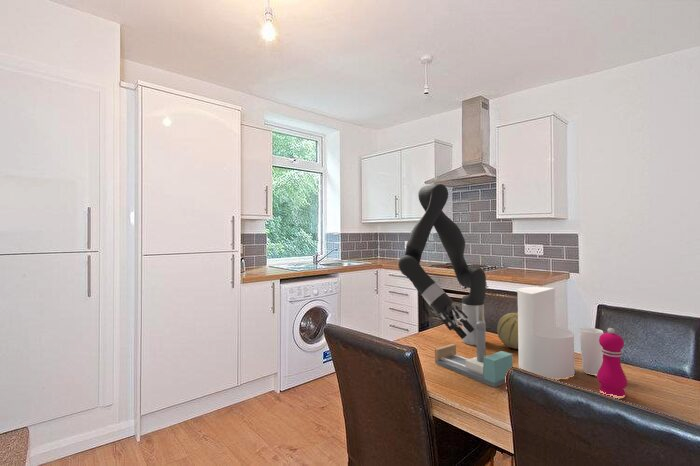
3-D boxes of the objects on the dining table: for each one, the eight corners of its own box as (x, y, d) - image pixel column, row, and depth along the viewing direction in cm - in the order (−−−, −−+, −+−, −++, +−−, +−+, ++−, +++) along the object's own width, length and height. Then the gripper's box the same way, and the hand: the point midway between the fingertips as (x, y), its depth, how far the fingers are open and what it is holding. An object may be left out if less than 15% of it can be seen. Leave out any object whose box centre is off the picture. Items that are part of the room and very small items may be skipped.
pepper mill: (591, 389, 107) (590, 325, 107) (613, 388, 108) (612, 324, 108) (610, 401, 100) (609, 332, 100) (634, 399, 101) (633, 330, 100)
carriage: (479, 361, 125) (479, 317, 125) (497, 367, 119) (496, 321, 119) (465, 366, 120) (464, 321, 120) (482, 373, 115) (482, 325, 114)
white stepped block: (509, 368, 125) (508, 290, 125) (532, 357, 135) (531, 285, 135) (562, 384, 111) (560, 297, 111) (582, 370, 121) (581, 291, 121)
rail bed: (452, 357, 136) (452, 335, 136) (512, 379, 115) (512, 354, 115) (435, 363, 131) (434, 340, 131) (494, 387, 110) (494, 360, 110)
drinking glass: (600, 371, 121) (599, 328, 121) (607, 379, 115) (607, 333, 114) (577, 368, 123) (577, 326, 123) (583, 376, 117) (583, 332, 117)
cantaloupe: (509, 340, 156) (508, 306, 156) (542, 348, 144) (542, 312, 144) (489, 346, 148) (489, 311, 148) (523, 356, 136) (522, 318, 136)
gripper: (436, 295, 122) (469, 332, 115) (450, 289, 133) (482, 323, 126) (422, 308, 125) (454, 346, 118) (437, 301, 136) (467, 335, 129)
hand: (468, 334), depth 122 cm, fingers open, 8 cm apart
